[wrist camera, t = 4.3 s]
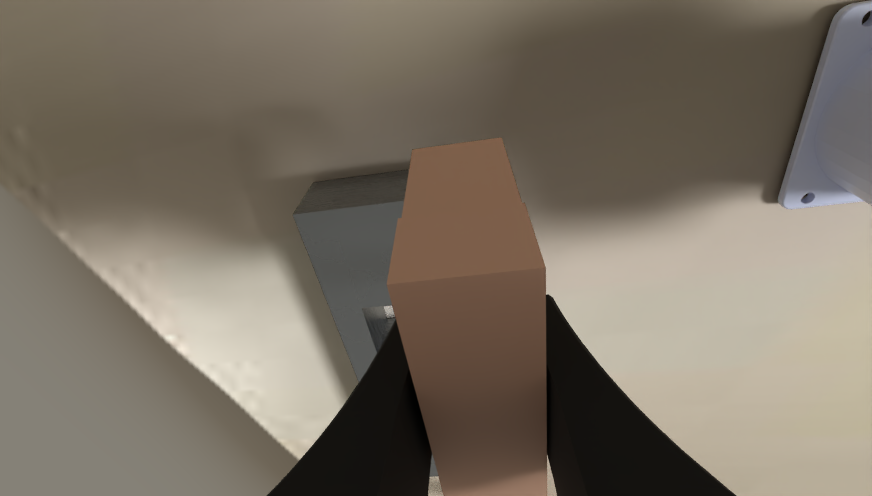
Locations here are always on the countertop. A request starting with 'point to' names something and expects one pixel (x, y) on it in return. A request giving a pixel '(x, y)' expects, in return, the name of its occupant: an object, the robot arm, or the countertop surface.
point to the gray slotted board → (355, 255)
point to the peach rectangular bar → (473, 319)
